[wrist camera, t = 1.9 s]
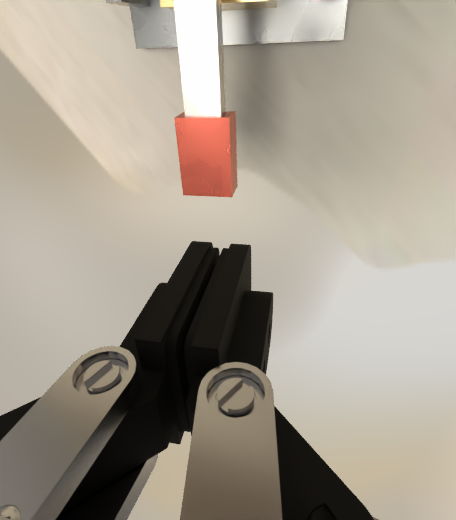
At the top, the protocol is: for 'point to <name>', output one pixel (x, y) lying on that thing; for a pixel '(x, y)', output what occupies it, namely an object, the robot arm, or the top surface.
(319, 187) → the top surface
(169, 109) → the top surface
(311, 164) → the top surface
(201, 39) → the valve lever
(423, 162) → the top surface
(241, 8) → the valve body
